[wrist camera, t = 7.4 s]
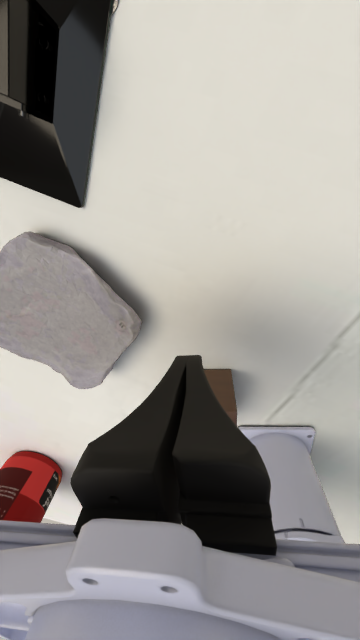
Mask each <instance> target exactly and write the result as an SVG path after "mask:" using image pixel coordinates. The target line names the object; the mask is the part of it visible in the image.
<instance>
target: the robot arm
mask: <svg viewBox="0 0 360 640" xmlns="http://www.w3.org/2000/svg"><path fill="white" fill-rule="evenodd" d="M314 436H315V430H314V429H313V428H312V427H237V426H236V425H235V423H234V422H233V421H232V420H231V418H230V417H229V416H228V414H227V413H226V412H225V410H224V409H223V407H222V406H221V404H220V403H219V401H218V400H217V398H216V396H215V394H214V392H213V391H212V389H211V387H210V384H209V382H208V380H207V377H206V375H205V372H204V369H203V366H202V357H201V356H200V355H190V356H177V357H176V358H175V360H174V361H173V363H172V365H171V366H170V368H169V370H168V371H167V373H166V374H165V376H164V377H163V378H162V380H161V381H160V383H159V384H158V385H157V386H156V388H155V389H154V390H153V391H152V393H151V394H150V395H149V396H148V397H147V398H146V399H145V400H144V401H143V403H142V404H141V405H140V406H139V407H137V408H136V409H135V410H134V411H133V412H132V413H131V414H130V415H129V416H128V417H126V418H125V419H124V420H123V421H121V422H120V423H119V424H118V425H116V426H115V427H114V428H112V429H111V430H109V431H108V432H106V433H105V434H103V435H102V436H100V437H99V438H97V439H96V440H94V441H92V442H91V443H89V444H88V446H87V448H86V450H85V451H84V453H83V455H82V457H81V459H80V461H79V463H78V465H77V467H76V469H75V471H74V473H73V475H72V478H71V486H72V489H73V491H74V493H75V495H76V496H77V498H78V500H79V502H80V503H81V505H82V507H83V508H82V510H81V513H80V516H79V518H78V521H77V523H76V525H63V524H48V523H33V522H18V521H3V520H0V638H2V639H6V640H360V544H345V542H344V540H343V538H342V536H341V534H340V531H339V529H338V526H337V524H336V521H335V519H334V516H333V513H332V511H331V508H330V506H329V503H328V501H327V498H326V496H325V493H324V491H323V488H322V486H321V483H320V481H319V478H318V475H317V473H316V470H315V468H314V465H313V463H312V460H311V458H310V454H311V450H312V445H313V441H314Z"/></svg>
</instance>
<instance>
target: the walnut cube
mask: <svg viewBox="0 0 360 640" xmlns="http://www.w3.org/2000/svg"><path fill="white" fill-rule="evenodd" d="M204 372H205V375H206V377H207V380H208V382H209V384H210V387H211V389H212V391H213V392H214V394H215V396H216V398H217V400H218V401H219V403H220V404H221V406H222V407H223V409H224V410H225V412H226V413H227V414H228V416H229V417H230V418H231V420H232V421H233V422H234V423H235V425H236V426H237V407H236V400H235V394H234V387H233V380H232V373H231V369H212V370H204Z"/></svg>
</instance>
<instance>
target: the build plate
mask: <svg viewBox="0 0 360 640" xmlns="http://www.w3.org/2000/svg"><path fill="white" fill-rule="evenodd" d="M117 5H118V0H0V177H1V178H4V179H7V180H9V181H12V182H14V183H17V184H19V185H22V186H24V187H27V188H30V189H32V190H35V191H37V192H40V193H42V194H45V195H48V196H50V197H53V198H55V199H58V200H60V201H63V202H65V203H68V204H71V205H73V206H76V207H78V208H80V207H83V206H84V202H85V194H86V187H87V180H88V173H89V166H90V159H91V152H92V145H93V138H94V131H95V123H96V116H97V109H98V102H99V95H100V88H101V81H102V74H103V67H104V60H105V52H106V45H107V38H108V31H109V24H110V17H111V15H112V14H113V12H114V11H115V10H116V8H117Z"/></svg>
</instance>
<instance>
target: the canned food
mask: <svg viewBox="0 0 360 640" xmlns="http://www.w3.org/2000/svg"><path fill="white" fill-rule="evenodd" d="M61 477H62V472H61V469H60V467H59V466H58V465H57V464H56V463H55V462H54V461H53V460H51V459H50V458H48V457H46V456H44V455H42V454H39V453H35V452H30V451H22V452H17V453H15V454H13V455H12V456H11V457H10V458H9V459H8V460H7V461H6V462H5V464H4V465H3V466H2V468H1V469H0V520H3V521H18V522H33V523H41V521H42V519H43V517H44V515H45V512H46V510H47V508H48V506H49V504H50V502H51V500H52V498H53V496H54V494H55V492H56V490H57V488H58V486H59V484H60V482H61Z"/></svg>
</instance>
